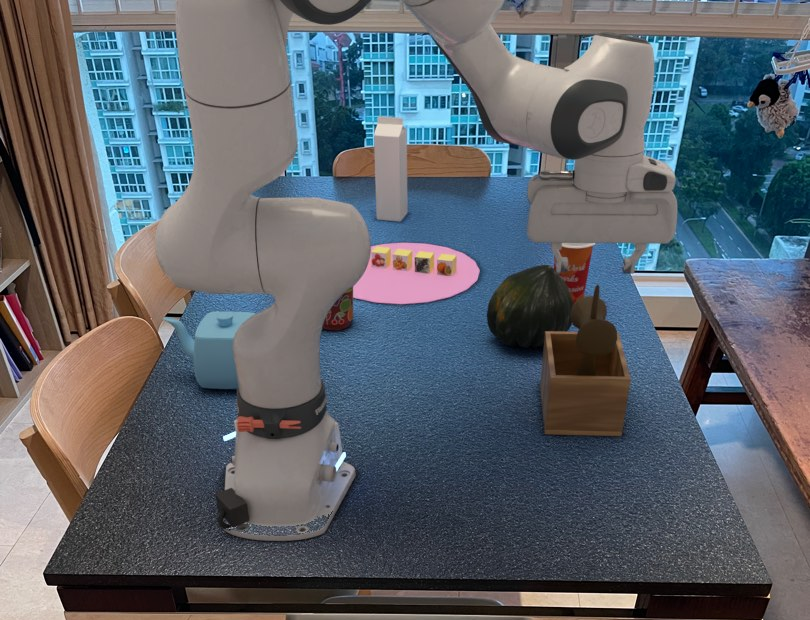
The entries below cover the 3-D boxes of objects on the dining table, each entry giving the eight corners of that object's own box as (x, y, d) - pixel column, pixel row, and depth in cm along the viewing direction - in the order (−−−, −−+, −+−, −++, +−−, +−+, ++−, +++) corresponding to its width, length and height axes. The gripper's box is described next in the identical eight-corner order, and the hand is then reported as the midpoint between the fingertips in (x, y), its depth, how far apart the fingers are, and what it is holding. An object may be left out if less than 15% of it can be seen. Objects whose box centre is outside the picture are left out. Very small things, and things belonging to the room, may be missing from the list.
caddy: (621, 436, 134) (631, 379, 128) (544, 434, 134) (550, 377, 128) (610, 386, 145) (618, 332, 139) (540, 385, 146) (545, 331, 140)
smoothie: (351, 335, 161) (345, 227, 148) (307, 332, 163) (297, 224, 150) (362, 316, 167) (357, 210, 155) (319, 313, 169) (311, 207, 156)
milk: (384, 211, 212) (381, 112, 198) (408, 213, 211) (406, 114, 197) (376, 220, 208) (372, 119, 194) (400, 222, 206) (398, 121, 192)
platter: (359, 237, 199) (358, 222, 197) (496, 252, 191) (497, 236, 189) (301, 293, 176) (300, 277, 174) (455, 313, 168) (455, 296, 166)
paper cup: (541, 309, 169) (547, 236, 160) (555, 294, 174) (562, 223, 165) (580, 316, 166) (589, 243, 157) (593, 301, 171) (602, 229, 162)
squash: (469, 297, 161) (498, 255, 146) (542, 286, 165) (577, 246, 151) (490, 369, 159) (521, 335, 145) (563, 357, 163) (600, 322, 149)
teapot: (184, 358, 155) (172, 297, 148) (284, 361, 154) (277, 299, 147) (164, 394, 146) (150, 330, 138) (271, 397, 144) (263, 332, 137)
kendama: (566, 421, 136) (581, 299, 123) (559, 390, 143) (572, 271, 131) (605, 421, 136) (624, 298, 123) (596, 389, 143) (613, 271, 130)
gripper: (530, 177, 115) (522, 279, 124) (688, 178, 114) (669, 281, 123) (527, 164, 120) (520, 263, 129) (679, 164, 119) (662, 264, 128)
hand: (594, 271), depth 126 cm, fingers open, 8 cm apart
